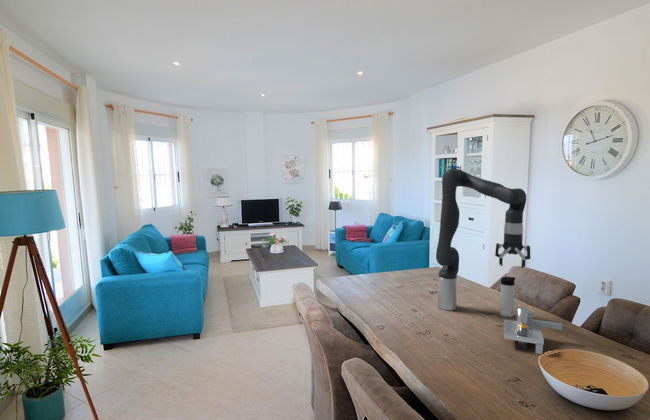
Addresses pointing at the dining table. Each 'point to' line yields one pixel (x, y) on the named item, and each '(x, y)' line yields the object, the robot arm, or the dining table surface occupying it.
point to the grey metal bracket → (533, 329)
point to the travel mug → (507, 297)
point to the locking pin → (523, 332)
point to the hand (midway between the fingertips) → (511, 266)
